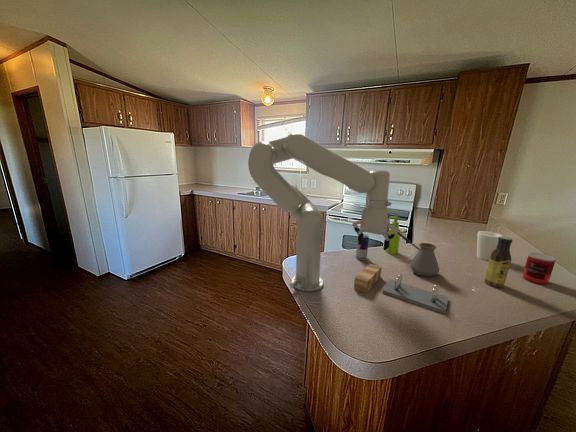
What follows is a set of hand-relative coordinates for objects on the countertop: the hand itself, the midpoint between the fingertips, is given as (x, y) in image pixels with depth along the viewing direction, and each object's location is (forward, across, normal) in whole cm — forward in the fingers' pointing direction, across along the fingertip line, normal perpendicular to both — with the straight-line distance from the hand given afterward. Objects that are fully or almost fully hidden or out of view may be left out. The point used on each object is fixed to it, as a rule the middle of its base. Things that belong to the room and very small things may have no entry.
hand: (372, 246), depth 91 cm
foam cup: (+18, -38, -61) cm, 74 cm away
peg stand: (+16, -16, 0) cm, 23 cm away
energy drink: (+16, +12, -21) cm, 29 cm away
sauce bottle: (+17, -40, -30) cm, 53 cm away
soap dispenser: (+16, +2, -38) cm, 42 cm away
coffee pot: (+17, -11, -25) cm, 32 cm away
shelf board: (+16, +1, +1) cm, 16 cm away
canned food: (+18, -54, -45) cm, 73 cm away
